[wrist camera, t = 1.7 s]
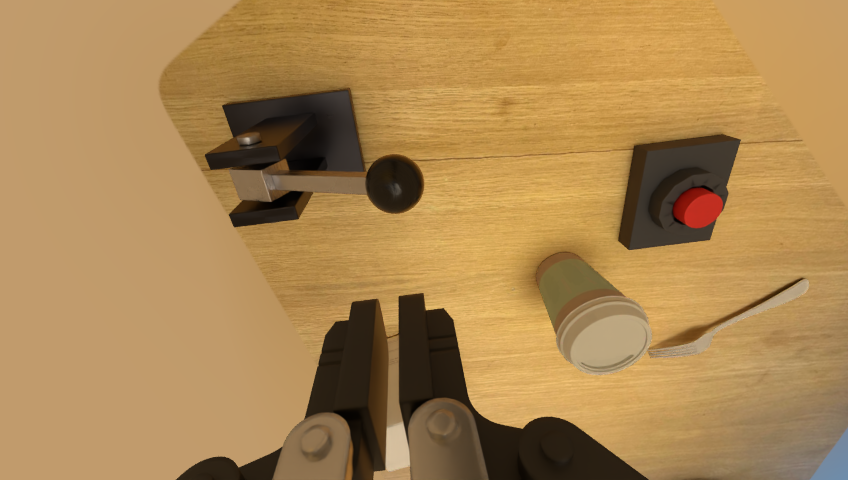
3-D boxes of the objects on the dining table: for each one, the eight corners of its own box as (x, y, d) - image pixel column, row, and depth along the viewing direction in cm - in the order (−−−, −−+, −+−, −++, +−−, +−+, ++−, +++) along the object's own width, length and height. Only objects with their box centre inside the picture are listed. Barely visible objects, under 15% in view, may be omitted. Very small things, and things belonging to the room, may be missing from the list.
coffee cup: (511, 288, 44) (546, 366, 34) (550, 231, 41) (603, 297, 30) (567, 309, 47) (617, 388, 36) (610, 256, 43) (678, 326, 32)
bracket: (349, 88, 33) (324, 112, 21) (366, 173, 36) (352, 233, 25) (227, 103, 33) (137, 136, 21) (256, 187, 36) (193, 253, 25)
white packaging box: (389, 379, 51) (386, 474, 40) (367, 342, 47) (358, 435, 36) (439, 364, 50) (451, 457, 39) (421, 326, 46) (428, 415, 35)
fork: (789, 279, 49) (811, 291, 47) (651, 359, 52) (666, 374, 49) (786, 265, 48) (809, 276, 46) (645, 347, 51) (660, 362, 48)
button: (676, 189, 35) (689, 196, 34) (713, 184, 35) (728, 191, 34) (668, 222, 37) (680, 230, 36) (704, 218, 37) (717, 226, 36)
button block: (634, 145, 37) (659, 156, 33) (723, 134, 37) (757, 144, 33) (618, 240, 42) (638, 258, 39) (695, 230, 42) (722, 248, 39)
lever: (429, 146, 21) (405, 166, 18) (435, 201, 23) (413, 226, 20) (257, 147, 26) (218, 162, 23) (271, 192, 28) (237, 211, 25)
